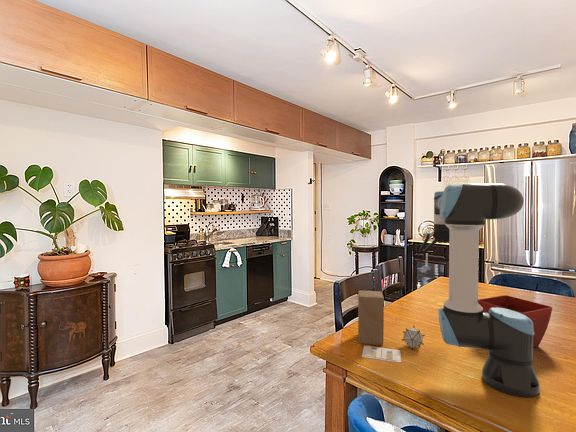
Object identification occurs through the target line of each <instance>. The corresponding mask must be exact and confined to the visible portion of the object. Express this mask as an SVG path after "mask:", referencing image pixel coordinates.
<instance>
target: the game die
mask: <svg viewBox="0 0 576 432" xmlns="http://www.w3.org/2000/svg"><path fill="white" fill-rule="evenodd" d="M402 333H403V338H402V339H401V342H402V341H403V342H405V343H406V345H407V346H409V347H410V348H411V351H413V350H414V349H415V348H417V347H418V348H421V345H423V346H424V345H425V344H424V342H423V338H424V337H425V336H426V335H425V334H422V333H421V330H418V329H416V328H415V325H412V328H411V327H410V328H409V329H408V328H405V331H404V330H403V331H402Z"/></svg>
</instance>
